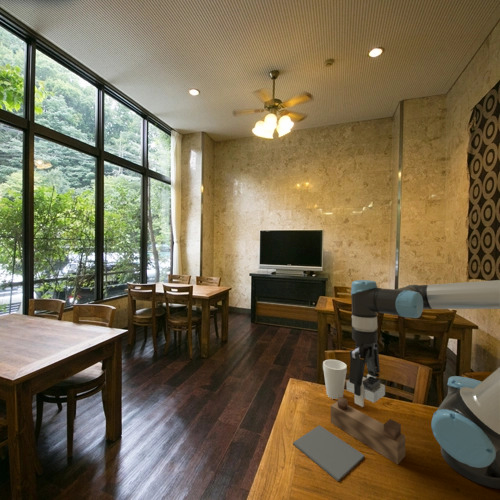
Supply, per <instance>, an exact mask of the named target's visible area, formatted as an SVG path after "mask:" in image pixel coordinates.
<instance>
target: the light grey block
mask: <svg viewBox="0 0 500 500" xmlns="http://www.w3.org/2000/svg"><path fill="white" fill-rule="evenodd" d="M345 383H346V391H347V392H350V393H352V394H354V384H352V383H350V382H349V379H348V380H345ZM362 384H363V385H364V400H366V401H369V402H371V403H374V404H375V403H376V402H377V401H379V400H381V398H383V397H384V396H386V384H383V383H381V379H378V377H376V378H374V377H371V376H370V377H369V378H367V377H365V376H363V380H362Z"/></svg>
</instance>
